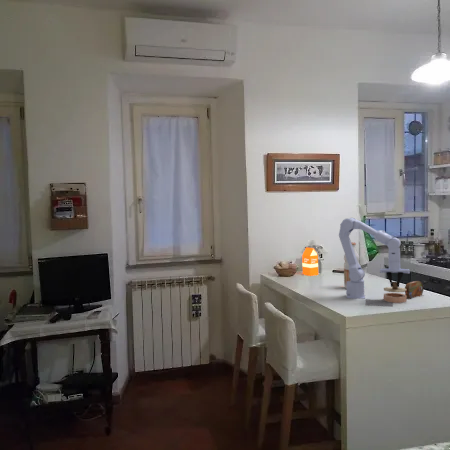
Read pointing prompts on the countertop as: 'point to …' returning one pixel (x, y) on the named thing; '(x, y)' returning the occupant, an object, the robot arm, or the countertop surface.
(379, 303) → the mat
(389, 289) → the lid
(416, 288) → the tin
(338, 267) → the countertop surface
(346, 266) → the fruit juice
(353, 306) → the countertop surface
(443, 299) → the countertop surface
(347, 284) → the robot arm
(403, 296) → the bowl
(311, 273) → the orange juice
